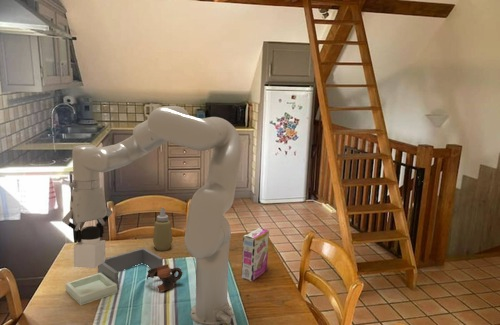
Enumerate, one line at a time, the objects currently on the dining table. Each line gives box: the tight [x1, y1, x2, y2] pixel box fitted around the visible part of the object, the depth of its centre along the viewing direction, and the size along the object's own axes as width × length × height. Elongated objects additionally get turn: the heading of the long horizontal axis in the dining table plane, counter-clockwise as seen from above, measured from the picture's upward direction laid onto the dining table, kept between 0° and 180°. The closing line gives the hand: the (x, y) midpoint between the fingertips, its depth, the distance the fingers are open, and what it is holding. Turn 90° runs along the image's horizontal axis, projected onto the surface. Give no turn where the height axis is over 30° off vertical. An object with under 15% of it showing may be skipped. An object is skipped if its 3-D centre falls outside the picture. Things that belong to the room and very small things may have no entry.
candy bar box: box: [241, 227, 270, 282], centre depth 145 cm, size 11×5×16 cm, turn 149°
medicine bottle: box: [73, 225, 106, 269], centre depth 127 cm, size 7×7×12 cm
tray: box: [65, 272, 118, 306], centre depth 130 cm, size 12×12×3 cm
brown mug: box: [146, 264, 184, 293], centre depth 136 cm, size 12×9×8 cm
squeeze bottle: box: [152, 207, 174, 252], centre depth 166 cm, size 8×8×18 cm
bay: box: [97, 247, 164, 290], centre depth 143 cm, size 13×18×6 cm
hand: (89, 238), depth 127 cm, fingers closed on medicine bottle, 6 cm apart
